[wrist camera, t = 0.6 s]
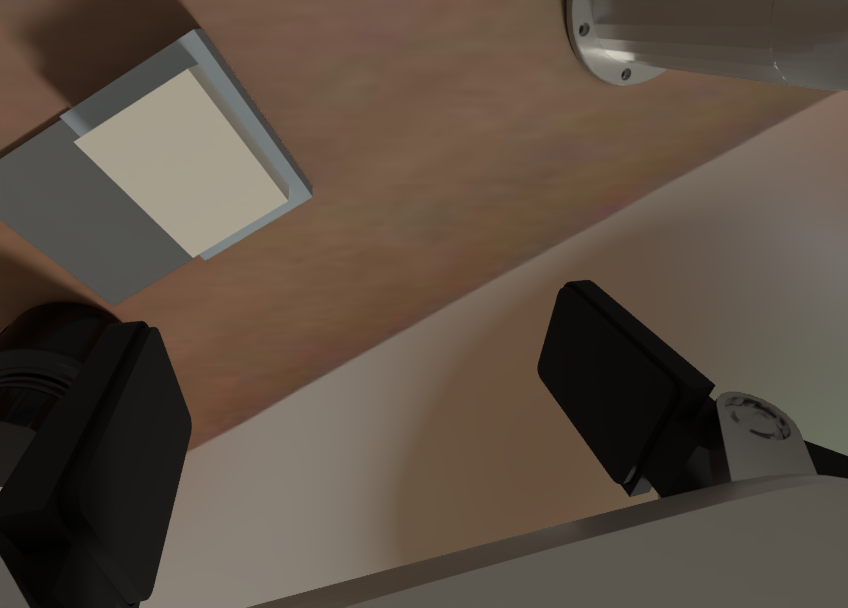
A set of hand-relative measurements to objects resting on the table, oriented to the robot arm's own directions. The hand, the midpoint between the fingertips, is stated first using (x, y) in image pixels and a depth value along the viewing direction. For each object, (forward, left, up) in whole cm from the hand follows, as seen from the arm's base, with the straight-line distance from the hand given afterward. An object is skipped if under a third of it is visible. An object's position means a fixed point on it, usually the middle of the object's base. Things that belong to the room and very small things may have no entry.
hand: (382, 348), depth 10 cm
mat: (+19, -3, -27) cm, 33 cm away
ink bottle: (+29, +5, -27) cm, 40 cm away
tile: (+9, -3, -23) cm, 25 cm away
